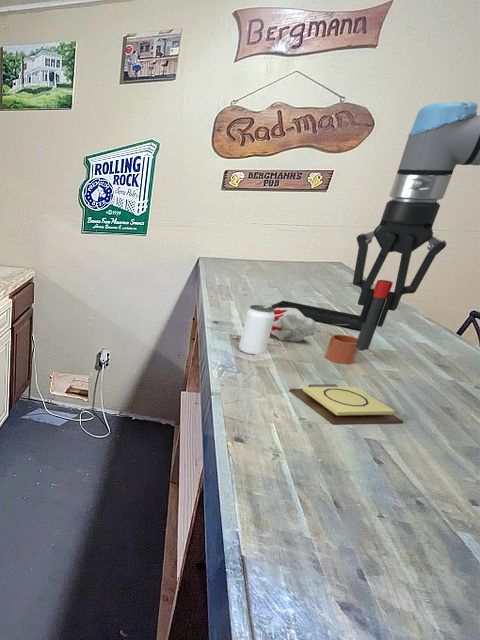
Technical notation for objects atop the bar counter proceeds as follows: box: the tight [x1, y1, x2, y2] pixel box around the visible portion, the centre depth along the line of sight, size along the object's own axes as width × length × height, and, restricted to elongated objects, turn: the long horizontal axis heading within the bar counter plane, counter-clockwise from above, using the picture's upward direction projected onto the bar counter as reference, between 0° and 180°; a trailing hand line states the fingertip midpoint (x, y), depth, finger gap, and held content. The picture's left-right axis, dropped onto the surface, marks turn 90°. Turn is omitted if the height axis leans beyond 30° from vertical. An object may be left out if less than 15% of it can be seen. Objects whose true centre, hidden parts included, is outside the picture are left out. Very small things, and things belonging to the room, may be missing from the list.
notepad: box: [302, 386, 396, 415], centre depth 94 cm, size 11×12×1 cm
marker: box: [355, 279, 394, 352], centre depth 91 cm, size 2×2×14 cm
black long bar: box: [270, 300, 364, 331], centre depth 146 cm, size 26×3×30 cm
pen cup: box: [324, 334, 359, 365], centre depth 116 cm, size 6×6×6 cm
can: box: [238, 304, 275, 356], centre depth 120 cm, size 6×6×12 cm
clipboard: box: [289, 383, 404, 425], centre depth 95 cm, size 14×14×2 cm
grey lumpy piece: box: [270, 307, 317, 343], centre depth 131 cm, size 9×11×15 cm
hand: (370, 322), depth 92 cm, fingers closed on marker, 2 cm apart
